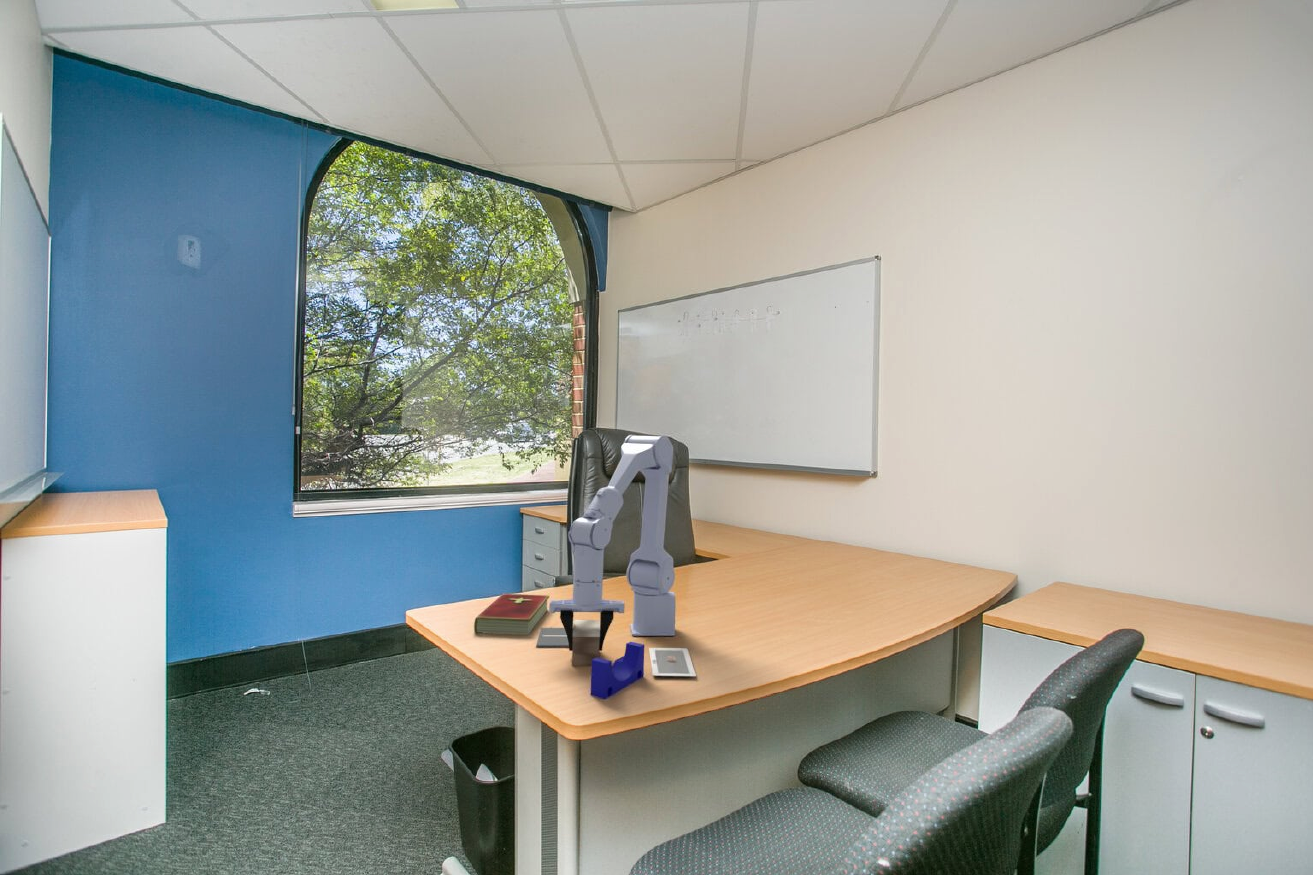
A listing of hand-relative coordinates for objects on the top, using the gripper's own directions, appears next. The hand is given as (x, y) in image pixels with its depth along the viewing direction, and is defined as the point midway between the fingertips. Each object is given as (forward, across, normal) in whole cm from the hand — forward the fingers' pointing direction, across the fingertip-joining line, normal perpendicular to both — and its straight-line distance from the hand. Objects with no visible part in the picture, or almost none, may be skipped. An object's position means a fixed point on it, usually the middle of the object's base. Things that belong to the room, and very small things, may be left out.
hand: (585, 649), depth 122 cm
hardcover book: (+2, -17, +25) cm, 30 cm away
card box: (+2, 0, 0) cm, 2 cm away
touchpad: (+2, +16, -4) cm, 17 cm away
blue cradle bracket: (+2, +5, -14) cm, 15 cm away
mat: (+2, -4, +12) cm, 13 cm away
